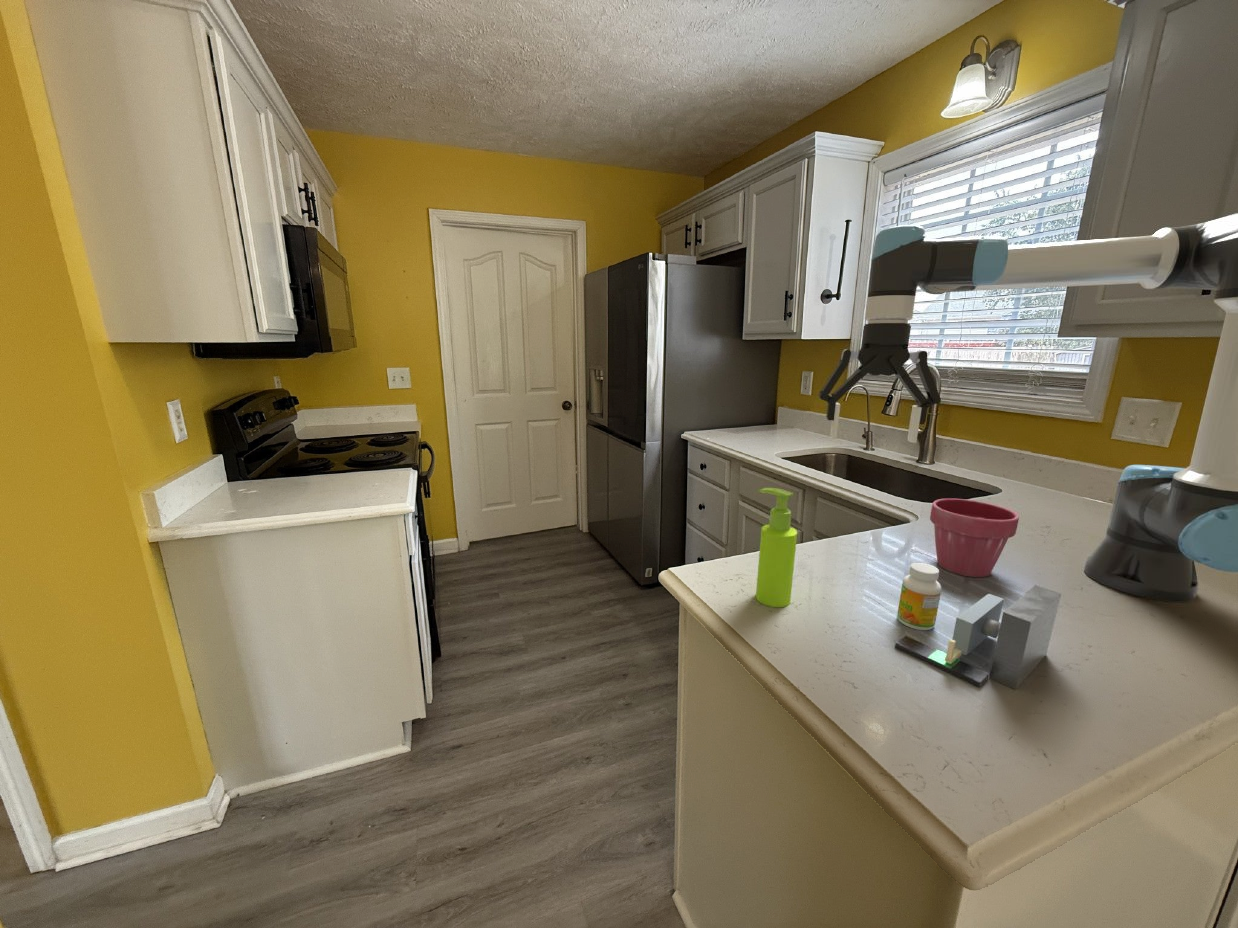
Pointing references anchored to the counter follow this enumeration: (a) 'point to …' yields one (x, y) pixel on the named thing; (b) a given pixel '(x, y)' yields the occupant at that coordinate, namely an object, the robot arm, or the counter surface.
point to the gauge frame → (1004, 642)
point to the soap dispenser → (776, 554)
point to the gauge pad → (975, 626)
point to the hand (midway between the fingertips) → (871, 439)
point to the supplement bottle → (919, 597)
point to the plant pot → (971, 535)
